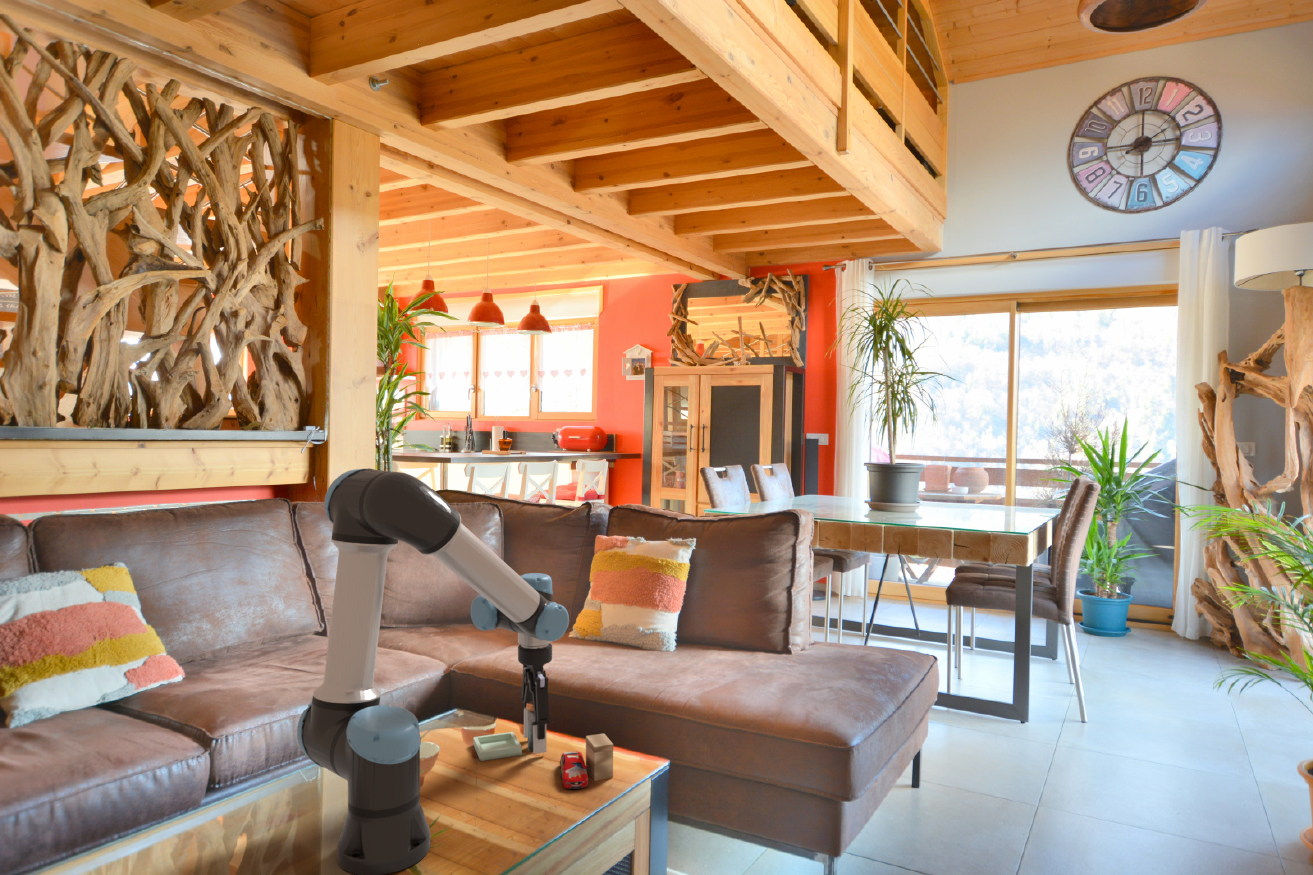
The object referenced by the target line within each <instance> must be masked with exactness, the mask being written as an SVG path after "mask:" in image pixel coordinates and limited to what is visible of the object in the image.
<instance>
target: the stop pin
mask: <svg viewBox="0 0 1313 875" xmlns="http://www.w3.org/2000/svg"><path fill="white" fill-rule="evenodd" d="M526 709H527V710H528V737H527V750H528V751H529V752H530V751H532V752H533V725H532V722H535V717H534V706H533V701H531V702H528V703H527V704H526Z"/></svg>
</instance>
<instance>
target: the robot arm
mask: <svg viewBox="0 0 1313 875" xmlns="http://www.w3.org/2000/svg"><path fill="white" fill-rule="evenodd" d="M323 506H324V512H325V515H326V517H327V518H328V519H329V521H330V523H332V530H331V531H332V532H331V540H330V541H331V542H332V544H334V546H335V547H336V548H337V550H338V556H337V557H338V558H337V566H336V574H335V583H334V591H333V597H332V598H333V599H332V607H331V616H330V625H329V631H328V641H327V652H326V658H325V665H324V667H325V668H324V676H323V682H322V684H321V685H319V686H318V687H317V688H316V689H315V690H313V693H312V698H311V702H310V703H309V704H308V706H307V708H306V709H305V710H302V713H301V715H300V717H299V719H298V723H297V727H296V738H297V743H298V746H299V748H300V750H301V751H302V753H303V754H304V755H305V756H306V757H308V759H309V760H311V761H312V762H313V764H315V765H316V766H319V767H321V768H325V769H327V770H328V771H330V772H331V773H334V775H336V776H339V777H341V778H342V779H343V780H346V782H347V814H346V817H345V820H344V824H343V826H342V829H341V832H340V834H339V839H338V841H337V847H336V861H337V863H338V865H339V867H340V869H342V870H344V871H346V872H347V873H350V874H353V875H387V874H393V873H396V872H399V871H402V870H403V871H404V870H405V869H407V868H410V867H412V866H413V865H415V864H417V863H418V862H420V861H422V860H423V859H424V858H425V857H426V855H427V854H428V853H429V851H430V849H431V831H430V827H429V826H430V825H429V824H428V822H427V819H426V818H427V817H426V815H425V813H424V810H423V807H422V804H421V801H420V799H421V798H420V797H421V796H420V792H421V790H420V789H421V784H420V783H421V776H420V775H421V769H420V768H421V767H420V766H421V764H420V763H421V758H420V757H421V752H420V751H421V744H422V743H421V742H422V738H421V732H420V725H419V720H418V718H417V717H416V715H415V714H414V713H413V712H411V710H408V709H407V708H404V707H401V706H396V705H393V706H390V705H387V704H386V705H385V704H381V702H380V701H381V697H382V696H381V694H382V693H381V691H380V690H379V689H378V688H377V686H376V685H375V683H374V681H375V680H374V679H375V670H376V663H377V656H378V655H377V654H378V646H379V645H378V644H379V639H380V638H379V636H380V628H381V627H380V626H381V620H382V619H381V618H382V610H383V603H384V594H385V593H384V590H385V585H386V576H387V568H388V567H387V566H388V557H389V554H390V552H392V550H394V549H395V548H396V547H397V546H398V544H399V542H400V541H401V542H402V543H406V544H407V545H409V546H411V547H412V548H414V549H416V550H417V551H418V552H420V553H421V554H423V555H424V556H431V555H432V556H434V557H435V558H436V559H437V560H438V561H439V562H441V564H443V565H444V566H446V568H448V569H449V570H450V571H451V572H452V573H454V574H455V575H457V577H459V578H460V579H461V580H462V581H464V582H465V583H466V584H467V585H468V586H470V588H472V589H473V590H474V591H475V592H477V593H478V594H479V595H477V596H475V597H474V599H473V600H472V602H471V604H470V617H471V621H472V623H473V626H475V628H477V629H478V630H479V631H483V632H484V631H493V630H495V629H502V630H506V631H509V632H510V631H511V632H513V633H517V643H518V646H517V661H518V662H519V663H520V664H522V669H523V670H522V685H521V687H522V688H521V698H520V700H521V702H522V706H523V707H524V708H523V738H524V739H525V738H527V739H528V710H527V709H526V704H527V703H528V702H531V701H533V706H534V717H535V722H532V725H533V751H532V752H533V754H535V755H536V754H544V753H547V725H548V724H550V712H549V711H550V708H549V707H550V705H549V688H548V687H549V678H548V676H547V672H546V670H545V669H544V666H545V665H547V664H549V663H551V662H552V659H553V644H551V643H553V642H555V641H558V640H559V639H560V640H561V638H562V637H563V636H564V635H565V633H566V631H567V630H568V628H569V623H570V617H569V616H570V615H569V612H568V610H567V608H566V607H565V606H564V605H562V604H560V603H557V602H555V601H553V595H554V591H553V580H552V577H551V576H550V575H548V574H546V573H541V572H540V573H539V572H532V573H531V572H530V573H524V574H522V575H519V574H518V573H517V571H515V569H513V568H512V567H510V566H509V565H508V564H507V563H506V562H505V561H504V560H503V559H501V557H500V556H499V555H497V554H496V553H495V552H494V551H493V550H492V549H490V548H489V547H488V545H487V544H486V543H484V542H483V541H482V540H481V539H479V537H478V536H476V535H475V534H474V533H473V532H472V531H471V530H470V529H469V528H467V527H466V526H465V525H464V524H463V523H462V516H461V514H460V512H458V510H456V508H454V507H453V505H451V504H450V503H449V502H448V501H447V500H445V499H444V498H443V497H442V496H441V495H440V494H439V493H438V492H436V491H435V490H433V489H432V488H431V487H430V486H429V485H427V484H426V483H425V482H423V481H422V480H420V479H418V478H417V477H415V476H413V475H410V474H409V473H405V472H400V471H389V470H382V469H380V470H379V469H374V468H369V467H368V468H356V469H351V470H348V471H345V472H343V473H341V474H340V475H338V476H337V478H335V479H334V480H333V481H332V483H330V485H329V487H328V488H327V491H326V494H325V496H324V505H323ZM380 704H381V705H380Z"/></svg>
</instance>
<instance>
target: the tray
mask: <svg viewBox="0 0 1313 875" xmlns="http://www.w3.org/2000/svg"><path fill="white" fill-rule="evenodd" d="M472 738H473V739H472V742H473V747H474V749H475V753H476V754H477V757H478V759H479V761H480V762H484V761H491V760H495V759H496V760H497V759H503V758H508V757H509V758H510V757H516V756H522V755H523V747H522V746H523V745H521V743H520V741H519V739H518V737H517V735H516V733H515V732H514V731H508V732H501V733H493V734H486V735H480V736H474V737H472Z"/></svg>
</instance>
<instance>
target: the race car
mask: <svg viewBox="0 0 1313 875" xmlns="http://www.w3.org/2000/svg"><path fill="white" fill-rule="evenodd" d="M560 756H561V757H560V759H559V760H560V761H559V769H560V776H561V777H560V778H561V783H562V788H563V789H566V790H567V789H568V790H579V789H584V788H586V787H588V786H589V776H588V771H587V770H586V767H588V766H587V765H586V760H585V758H584V756H583V754H582V752H581V751H577V750H576V751H575V750H573V751H564V752H563V753H562V754H561V755H560Z"/></svg>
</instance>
